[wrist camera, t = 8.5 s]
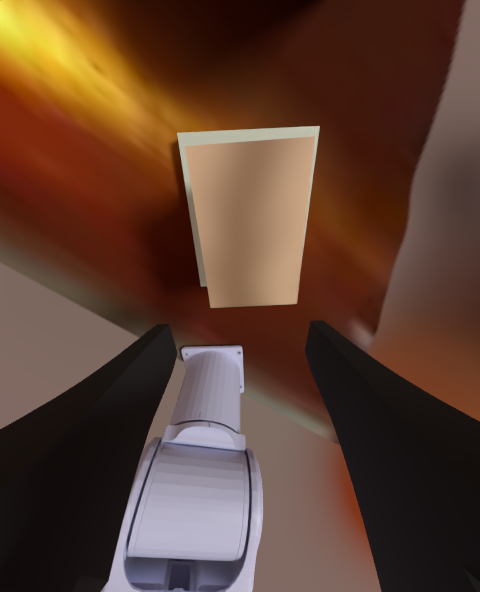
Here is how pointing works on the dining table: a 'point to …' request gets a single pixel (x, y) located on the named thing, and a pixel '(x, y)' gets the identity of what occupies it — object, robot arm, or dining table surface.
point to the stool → (251, 217)
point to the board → (231, 137)
